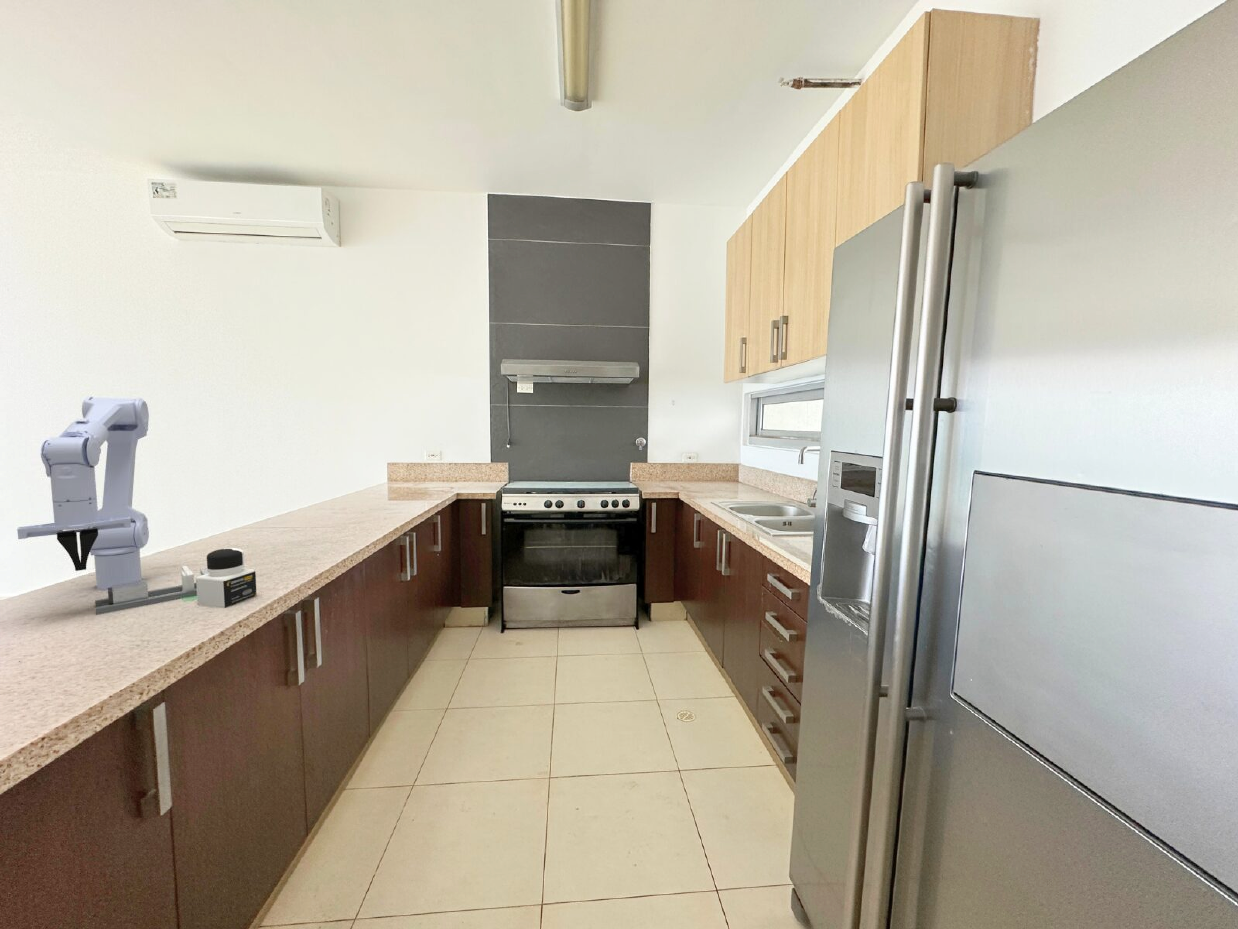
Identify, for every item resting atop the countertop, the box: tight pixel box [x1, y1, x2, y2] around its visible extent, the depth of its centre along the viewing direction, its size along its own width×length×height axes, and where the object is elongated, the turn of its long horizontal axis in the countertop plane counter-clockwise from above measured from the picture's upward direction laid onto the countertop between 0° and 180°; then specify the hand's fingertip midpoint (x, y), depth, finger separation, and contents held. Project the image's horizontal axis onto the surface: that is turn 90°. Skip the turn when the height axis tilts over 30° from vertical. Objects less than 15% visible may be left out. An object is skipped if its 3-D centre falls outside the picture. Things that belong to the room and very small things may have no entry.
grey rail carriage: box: [107, 579, 149, 605], centre depth 101 cm, size 4×6×4 cm
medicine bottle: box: [195, 547, 258, 609], centre depth 103 cm, size 7×7×12 cm
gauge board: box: [94, 568, 208, 616], centre depth 104 cm, size 12×18×5 cm, turn 137°
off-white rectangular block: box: [180, 565, 195, 592], centre depth 107 cm, size 9×2×5 cm, turn 47°
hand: (80, 569), depth 96 cm, fingers closed
